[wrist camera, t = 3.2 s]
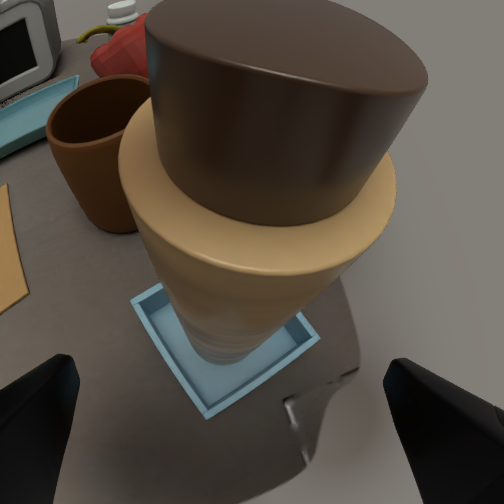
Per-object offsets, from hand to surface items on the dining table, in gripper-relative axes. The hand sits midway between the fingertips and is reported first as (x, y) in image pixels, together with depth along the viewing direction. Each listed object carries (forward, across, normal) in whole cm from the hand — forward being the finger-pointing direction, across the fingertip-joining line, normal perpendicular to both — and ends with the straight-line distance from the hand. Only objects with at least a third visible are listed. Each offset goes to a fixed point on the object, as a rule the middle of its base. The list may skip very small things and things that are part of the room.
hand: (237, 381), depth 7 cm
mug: (+18, +6, -2) cm, 20 cm away
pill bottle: (+38, +16, -21) cm, 46 cm away
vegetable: (+26, +8, -11) cm, 30 cm away
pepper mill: (+10, 0, +6) cm, 12 cm away
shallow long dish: (+24, +29, -7) cm, 38 cm away
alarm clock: (+35, +35, -18) cm, 53 cm away
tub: (+10, 0, +6) cm, 12 cm away
